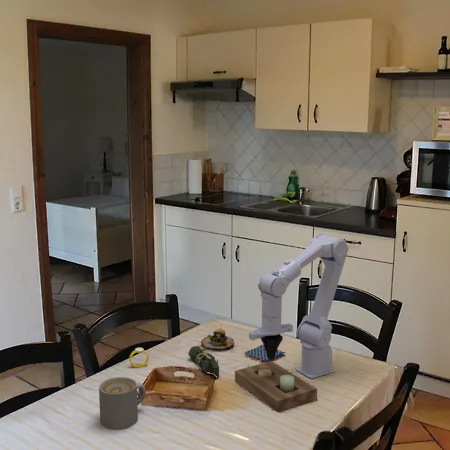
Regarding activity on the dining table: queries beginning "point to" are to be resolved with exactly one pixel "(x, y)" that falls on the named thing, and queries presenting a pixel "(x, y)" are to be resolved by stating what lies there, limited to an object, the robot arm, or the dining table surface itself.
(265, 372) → the maple peg
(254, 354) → the woven mat
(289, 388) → the sage peg
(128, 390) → the coffee mug
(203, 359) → the dark green rolled bundle
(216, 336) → the burger
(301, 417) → the dining table surface
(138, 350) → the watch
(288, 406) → the walnut block
